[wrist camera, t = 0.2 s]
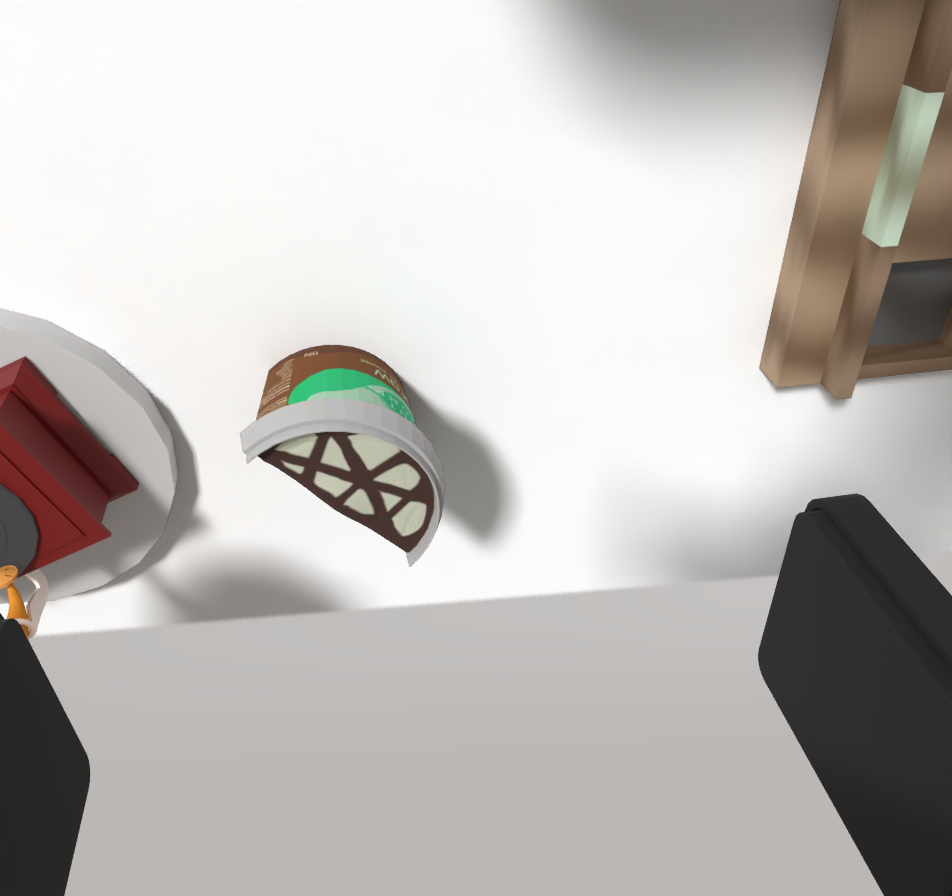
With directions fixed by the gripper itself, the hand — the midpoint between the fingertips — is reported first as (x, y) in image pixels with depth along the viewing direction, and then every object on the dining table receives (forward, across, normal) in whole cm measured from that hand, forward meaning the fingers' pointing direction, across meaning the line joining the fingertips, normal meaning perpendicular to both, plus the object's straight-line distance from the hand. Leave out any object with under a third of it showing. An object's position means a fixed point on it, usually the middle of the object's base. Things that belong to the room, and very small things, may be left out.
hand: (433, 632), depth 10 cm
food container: (+37, +1, +18) cm, 41 cm away
